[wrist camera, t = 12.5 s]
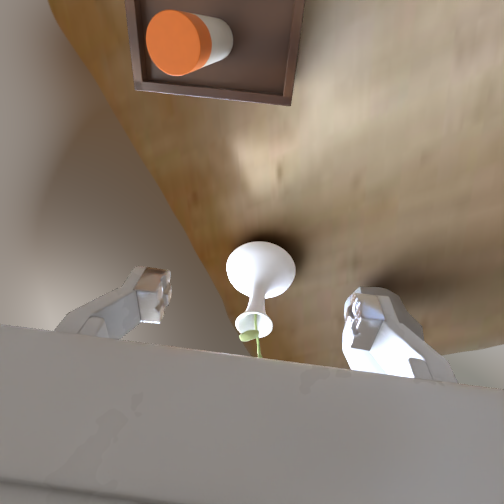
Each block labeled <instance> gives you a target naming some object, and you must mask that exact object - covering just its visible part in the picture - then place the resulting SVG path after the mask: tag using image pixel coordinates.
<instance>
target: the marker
mask: <svg viewBox="0 0 504 504" xmlns="http://www.w3.org/2000/svg"><path fill="white" fill-rule="evenodd" d="M146 44H147V49H148V52H149V55H150V57H151V59H152V60H153V62H154V63H155V64H156V66H157V67H158V68H159V69H160V70H162V71H163V72H165V73H167V74H169V75H173V76H182V75H185V74H188V73H190V72H193V71H195V70H197V69H200V68H202V67H205V66H207V65H210V64H212V63H215V62H217V61H220V60H222V59H224V58H226V57H227V56H228V55H229V53H230V52H231V49H232V46H233V35H232V31H231V29H230V27H229V26H228V25H227V23H226V22H224V21H223V20H221V19H219V18H214V17H209V16H204V15H198V14H193V13H188V12H183V11H177V10H170V9H169V10H163V11H161V12H159V13H157V14H156V15H155V16H154V17H153V18H152V19H151V21H150V23H149V25H148V27H147V32H146Z"/></svg>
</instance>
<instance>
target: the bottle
mask: <svg viewBox="0 0 504 504" xmlns="http://www.w3.org/2000/svg"><path fill="white" fill-rule="evenodd" d="M354 293H360V294H369V295H380V296H388V297H389V298H390V300H391V303H392V305H393V308H394V310H395V313H396V316H397V318H398V321H399V323H402V324H404V325H405V326H406V327H407V328H409V329H410V330H411V331H412V332H413V333H415V334H416V335H417V336H418V337H419V338H421V339H422V340H423V341H424V337H423V329H422V326H421V325H420V324H419V323H418V322H417V321H416V320H415V319H414V318H413V317H412V316H411V315H410V314H409V313H408V312H407V310H406V308H405V306H404V304H403V302H402V301H401V299H400V297H399V296H398V295H396V294H395V293H393V292H391V291H389V290H388V289H385V288H380V287H359V288H358V289H357V290H356V291H355V292H354ZM350 298H351V296H350V297H349V298H348V299H347V301H346V303H345V309H344V316H345V315H346V310H347V307H348V306H350V305H351V302H350ZM348 333H349V330H348V329H347V328H346V324H345V327H344V331H343V339H342V344H343V352H344V354H345V357H346V359H347V361H348V363H349V365H350V367H351V369H352V370H357V371H365V372H373V373H381V374H387V373H386V371H385V370H384V369H383V368H382V366H381V365H380V364H379V363H378V361H377V360H376V359H375V358H374V357H373V355H372V354H371V353H370V351H367V350H361V349H354V348H350V345H349V340H348Z"/></svg>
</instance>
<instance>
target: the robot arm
mask: <svg viewBox="0 0 504 504" xmlns="http://www.w3.org/2000/svg"><path fill="white" fill-rule="evenodd" d="M170 278H171V273H170V271H169V270H163V269H157V268H150V267H142V266H136V267H134V269H133V270H132V272H131V273H130V275H129V276H128V278H127V279H126V281H125V282H124V284H123V285H122V287H121V288H116V289H115V290H112V291H111V292H108V293H106V294H104V295H102V296H100V297H99V298H96V299H94V300H93V301H91V302H89V303H87V304H85V305H83V306H81V307H79V308H77V309H75V310H73V311H71V312H69V313H68V314H67V315H66V316H65V317H64V319H63V320H62V321H61V323H60V324H59V325H58V326H57V328H56V329H55V330H54V331H49V330H42V329H33V328H26V327H19V326H11V325H3V324H0V504H504V389H497V388H489V387H481V386H473V385H466V384H459V383H458V381H457V379H456V377H455V375H454V373H453V371H452V368H451V367H450V364H449V362H448V361H447V360H446V359H444V358H443V357H442V356H441V355H440V354H439V353H437V352H436V351H435V350H434V349H433V348H431V347H430V346H429V345H428V344H427V343H425V342H424V341H423V340H422V339H421V338H419V337H418V336H417V335H416V334H415V333H413V332H412V331H411V330H410V329H409V328H407V327H406V326H405V325H404V324H402V323H399V321H398V318H397V316H396V313H395V310H394V308H393V305H392V303H391V300H390V298H389V297H388V296H380V295H369V294H360V293H353V294H352V295H351V298H350V302H351V305H350V306H348V307H347V310H346V315H345V324H346V328H347V329H348V330H349V333H348V340H349V345H350V348H354V349H361V350H367V351H370V353H371V354H372V355H373V357H374V358H375V359H376V360H377V361H378V363H379V364H380V365H381V366H382V368H383V369H384V370H385V371H386V373H387V374H381V373H373V372H365V371H357V370H349V369H342V368H334V367H327V366H319V365H311V364H304V363H296V362H288V361H281V360H273V359H265V358H257V357H250V356H241V355H233V354H226V353H218V352H210V351H202V350H195V349H188V348H180V347H172V346H165V345H157V344H149V343H141V342H133V341H126V340H119V339H121V338H122V337H123V336H124V335H125V334H127V333H128V332H130V331H131V330H132V329H134V328H135V327H136V326H137V325H139V324H140V323H141V322H149V323H159V324H160V323H161V321H162V318H163V316H164V314H165V307H167V306H168V305H169V302H170V300H171V295H172V286H171V284H170V283H169V281H170Z"/></svg>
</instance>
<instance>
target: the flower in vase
mask: <svg viewBox="0 0 504 504" xmlns="http://www.w3.org/2000/svg"><path fill="white" fill-rule="evenodd" d="M227 274H228V277H229V279H230V281H231V283H232V284H233V286H234V287H235V288H236V289H237V290H239V291H240V292H242V293H243V294H245V295H248V296H250V300H249V304H248V307H247V309H246V311H245V312H244V313H242V314H241V315H240V316H239V317H238V318H237V320H236V328H237V329H238V331H239V332H240V333H242V334H241V335H239V338H240V340H241V341H249V340H252V339H254V338H256V340H257V347H258V350H257V352H258V358H263V357H262V356H261V352H260V343H259V338H260V337H264V336H266V335H268V334H269V333H270V332H271V331H272V328H273V324H272V321H271V319H270V318H269V317H268V316H267V315H266V313H265V305H264V304H265V298H270V297H274V296H277V295H279V294H281V293H283V292H284V291H286V290H287V289H288V287H289V286H290V285H291V283H292V282H293V280H294V277H295V264H294V261H293V259H292V258H291V256H290V255H289V254H288V253H287V252H286V251H285V250H284V249H282V248H281V247H279V246H277V245H275V244H272V243H268V242H262V241H257V242H250V243H246V244H244V245H241V246H240V247H238V248H237V249H235V250H234V251H233V252H232V254H231V255H230V257H229V259H228V261H227Z"/></svg>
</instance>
